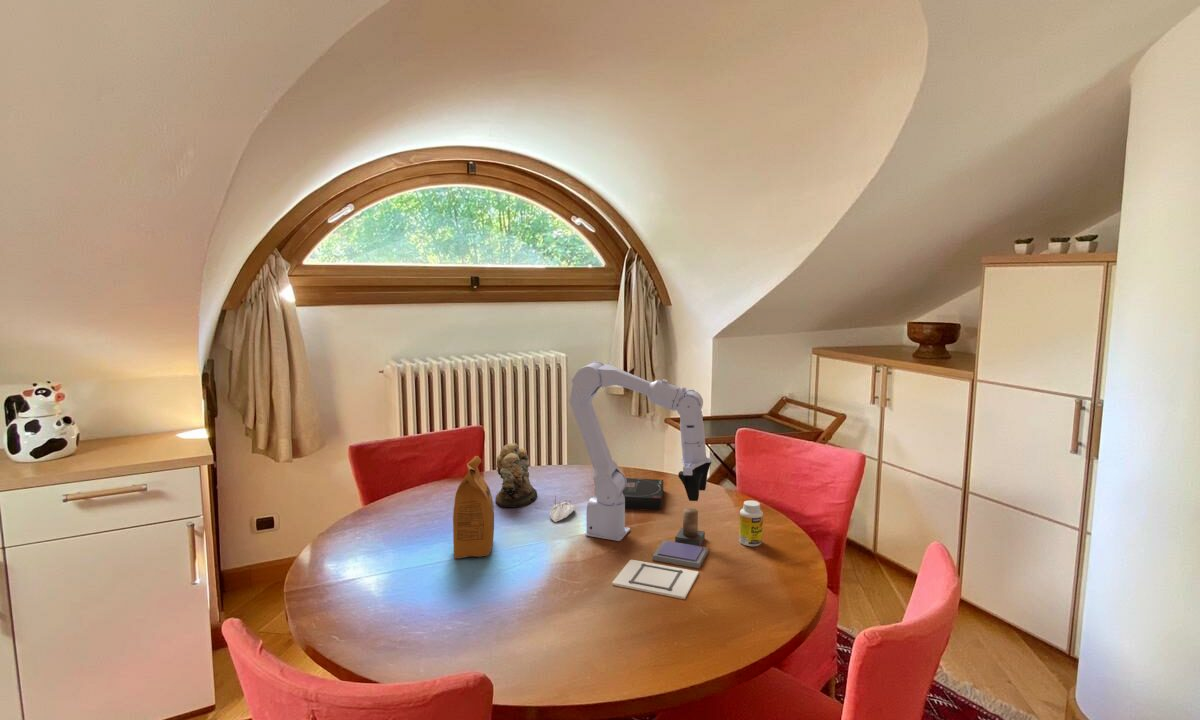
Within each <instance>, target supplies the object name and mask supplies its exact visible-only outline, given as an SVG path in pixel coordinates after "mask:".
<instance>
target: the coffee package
mask: <svg viewBox="0 0 1200 720" xmlns="http://www.w3.org/2000/svg"><path fill="white" fill-rule="evenodd" d="M481 463H482V459H481V458H480V457H479V455H475V456H474V457H473V458H472V459H471V460H470V461H469V462H467V464H466V467H467V468H466V469H467V472H466V474H465V476H464V478H462V480H461V482H460V484H459V485H458V488H457V489H456V492H455V497H454V505H453V513H452V527H453V528H452V529H453V530H452V531H453V532H452V535H453V536H452V538H453V539H452V541H453V556H454V558H455V559H457V560H458V559H462V558H467V557H476V558H477V557H483V556H484V557H485V556H489V555H491V551H492V547H493V543H494V534H495V511H494V502H493V495H492V493H491V488H490V487H489V485H488V483H487V482H486V480H485V479H484V478H483V476H481V473H480V470H479V468H478V467H479V465H480V464H481Z"/></svg>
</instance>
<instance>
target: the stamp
mask: <svg viewBox="0 0 1200 720" xmlns="http://www.w3.org/2000/svg"><path fill="white" fill-rule="evenodd" d="M682 513H683V514H682V515H683V518H682V527H681V528H680V529H679V531H678V533H676V536H675V537H674V542H677V543H683V544H689V545H695V546H701V547H702V544H703V543H704V540H705V537H706V535H705V534H706V531H703V530H698V529H699V527H698V524H699V510H698V509H696V508H691V507H690V508H684V509H683V512H682Z"/></svg>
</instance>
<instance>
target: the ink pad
mask: <svg viewBox="0 0 1200 720" xmlns="http://www.w3.org/2000/svg"><path fill="white" fill-rule="evenodd" d="M708 554H709V547H706V546H702V545H701V546H695V545H689V544H683V543H677V542H675V541H670V540H665V539H664V540H662V542H661V543H660V545H659V546H658V547H657V549H656V550H655V551H654V553H653V554H652V561H655V562H660V563H666V564H672V565H678V566H683V567H688V568H693V569H700V568H701V566H702V564H703V562H704V560H705V559H706V557H707V555H708Z"/></svg>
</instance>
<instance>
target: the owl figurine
mask: <svg viewBox="0 0 1200 720" xmlns="http://www.w3.org/2000/svg"><path fill="white" fill-rule="evenodd" d="M529 466H530V460H529V456H528V453H527V450H526V449H525V448H520V446H519V445H518V444H517V443H515V442H512V443H507V444H504V446H502V448H501V449H500V452H499V454H498V456H497V457H496V470H497V474H498V475H499V476H500V479H502V483H501V489H500V490H499V492H497V494H496V495H495V504H496V505H497V506H498V507H502V508H518V509H519V508H524V507H526V506H529V505H530V504H532V503H534V502H535V501H536V499H537V497H538V492H537V490H536V488H534V487H533V485H531V481H530V472H529Z"/></svg>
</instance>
